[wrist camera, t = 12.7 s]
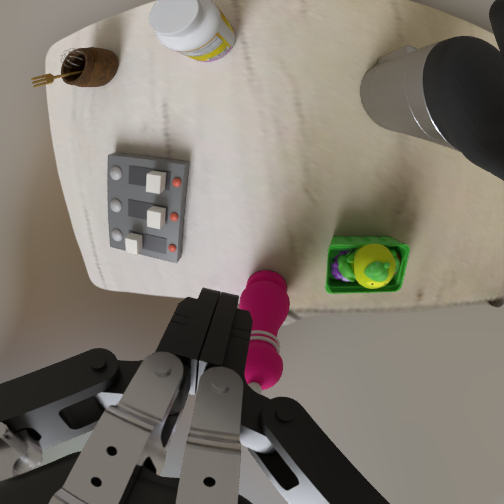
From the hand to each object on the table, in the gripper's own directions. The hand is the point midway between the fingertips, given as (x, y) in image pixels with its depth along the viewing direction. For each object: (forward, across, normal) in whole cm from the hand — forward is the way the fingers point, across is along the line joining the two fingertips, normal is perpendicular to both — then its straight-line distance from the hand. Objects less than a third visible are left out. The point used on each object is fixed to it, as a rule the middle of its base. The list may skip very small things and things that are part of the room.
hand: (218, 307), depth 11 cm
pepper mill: (+27, -4, +18) cm, 33 cm away
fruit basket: (+27, -16, +8) cm, 33 cm away
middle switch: (+25, +13, +8) cm, 29 cm away
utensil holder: (+27, +26, -12) cm, 39 cm away
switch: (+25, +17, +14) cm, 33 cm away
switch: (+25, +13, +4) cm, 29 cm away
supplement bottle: (+27, +10, -16) cm, 33 cm away
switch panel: (+27, +16, +8) cm, 33 cm away
